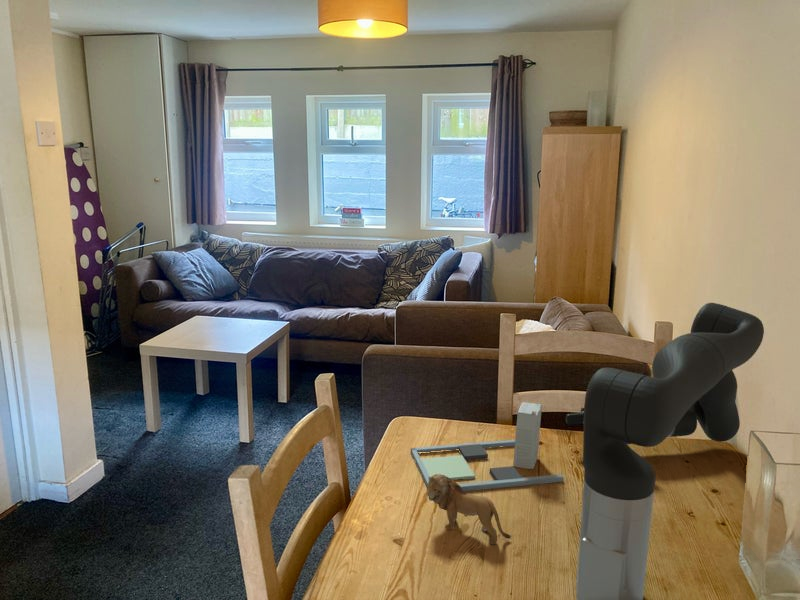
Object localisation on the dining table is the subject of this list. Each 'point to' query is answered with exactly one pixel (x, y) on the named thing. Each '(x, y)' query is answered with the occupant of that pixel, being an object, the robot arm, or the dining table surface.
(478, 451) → the grey slab
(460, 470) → the pad
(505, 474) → the grey square block
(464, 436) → the dining table surface
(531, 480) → the lane rails
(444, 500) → the lion figurine
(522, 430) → the skincare box
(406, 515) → the dining table surface
